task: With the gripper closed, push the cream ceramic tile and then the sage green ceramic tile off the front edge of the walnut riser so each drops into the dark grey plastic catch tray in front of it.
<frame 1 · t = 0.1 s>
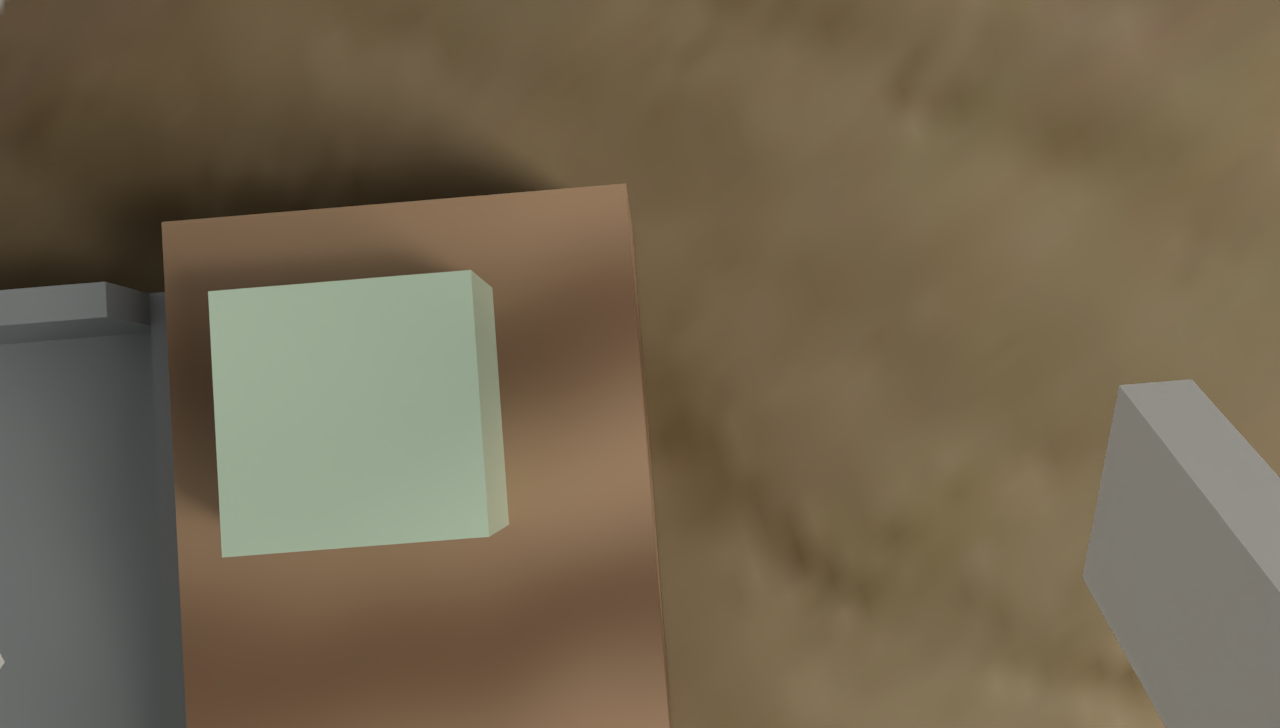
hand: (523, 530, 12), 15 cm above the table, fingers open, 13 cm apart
sage tile: (382, 414, 22), point 5 cm above the table, touching walnut riser
catch tray: (42, 663, 27), on the table
walnut riser: (467, 631, 27), on the table
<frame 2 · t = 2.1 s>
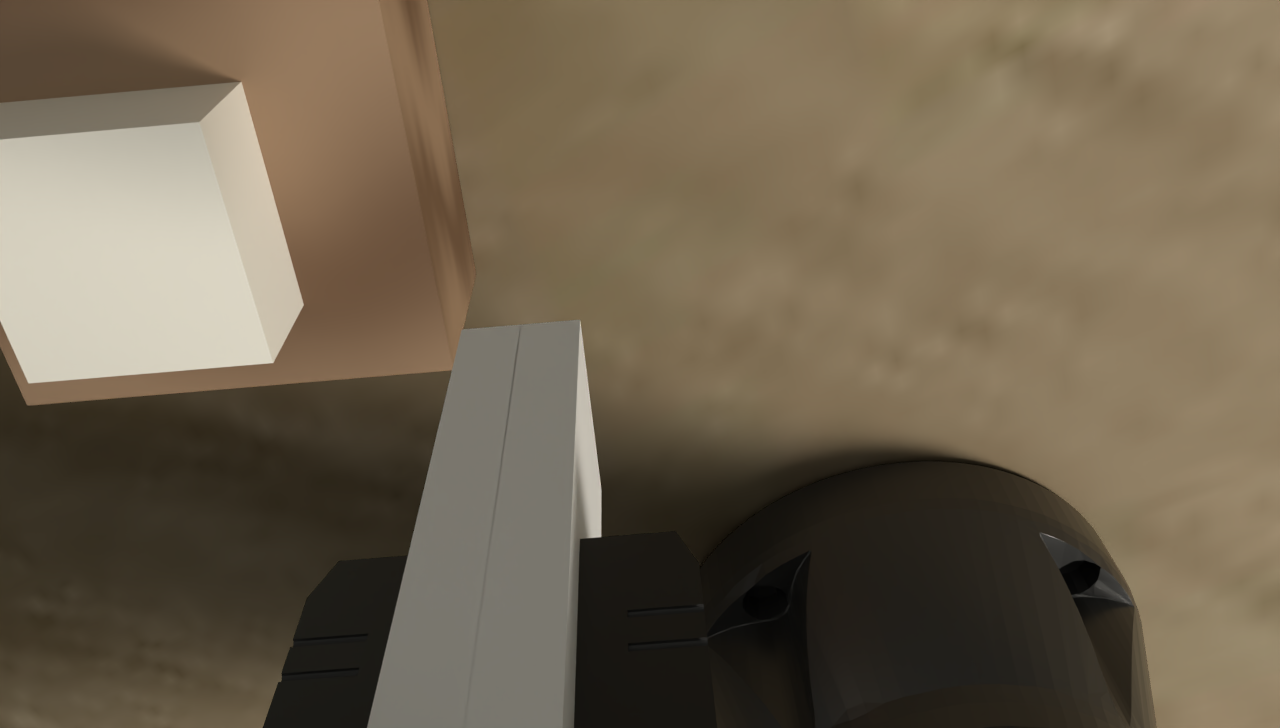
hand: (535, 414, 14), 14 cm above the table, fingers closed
cream tile: (156, 210, 22), point 5 cm above the table, touching walnut riser
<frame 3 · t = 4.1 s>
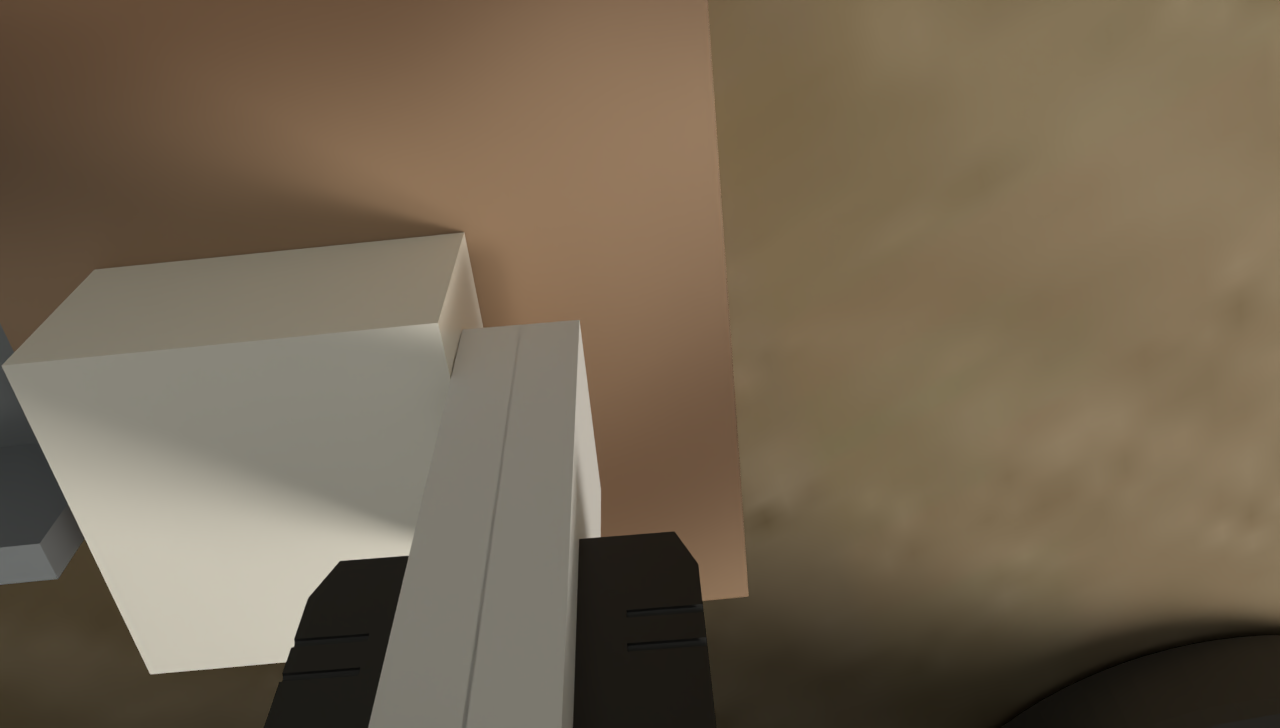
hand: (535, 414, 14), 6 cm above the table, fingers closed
cream tile: (325, 407, 15), point 5 cm above the table, touching gripper
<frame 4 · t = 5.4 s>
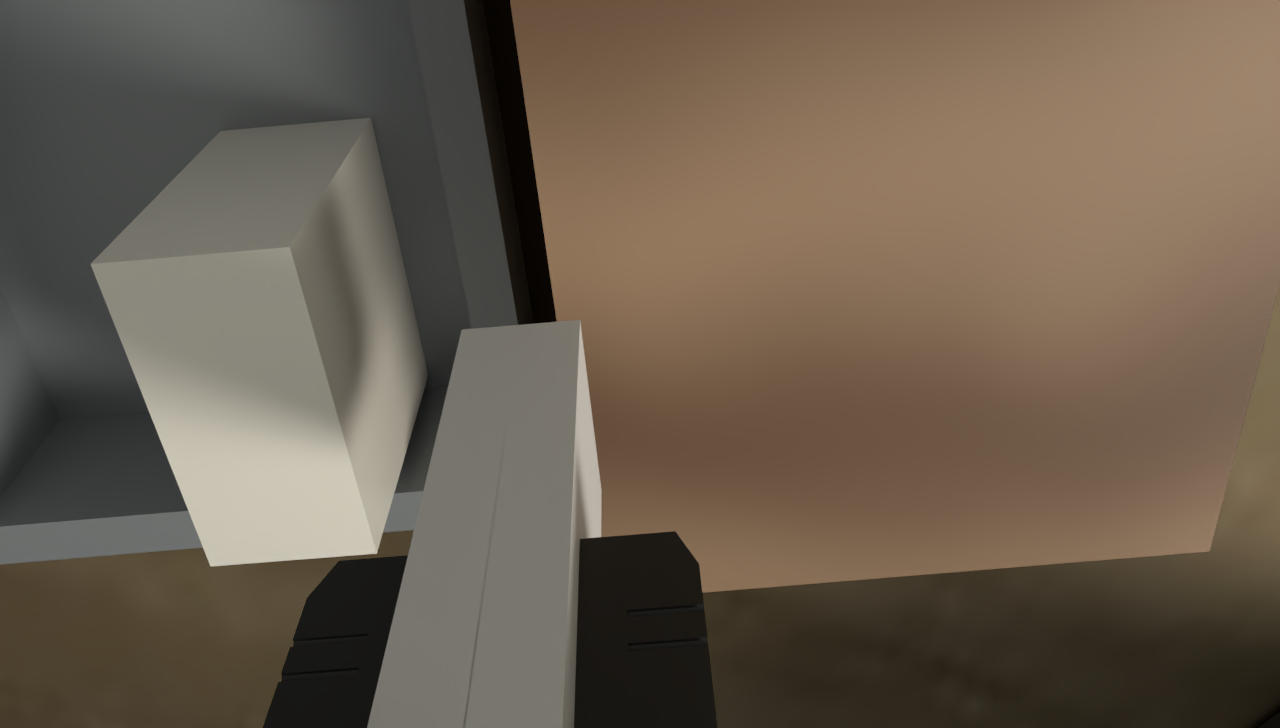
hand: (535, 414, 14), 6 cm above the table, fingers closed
cream tile: (373, 324, 16), point 3 cm above the table, tilted 90°, touching catch tray
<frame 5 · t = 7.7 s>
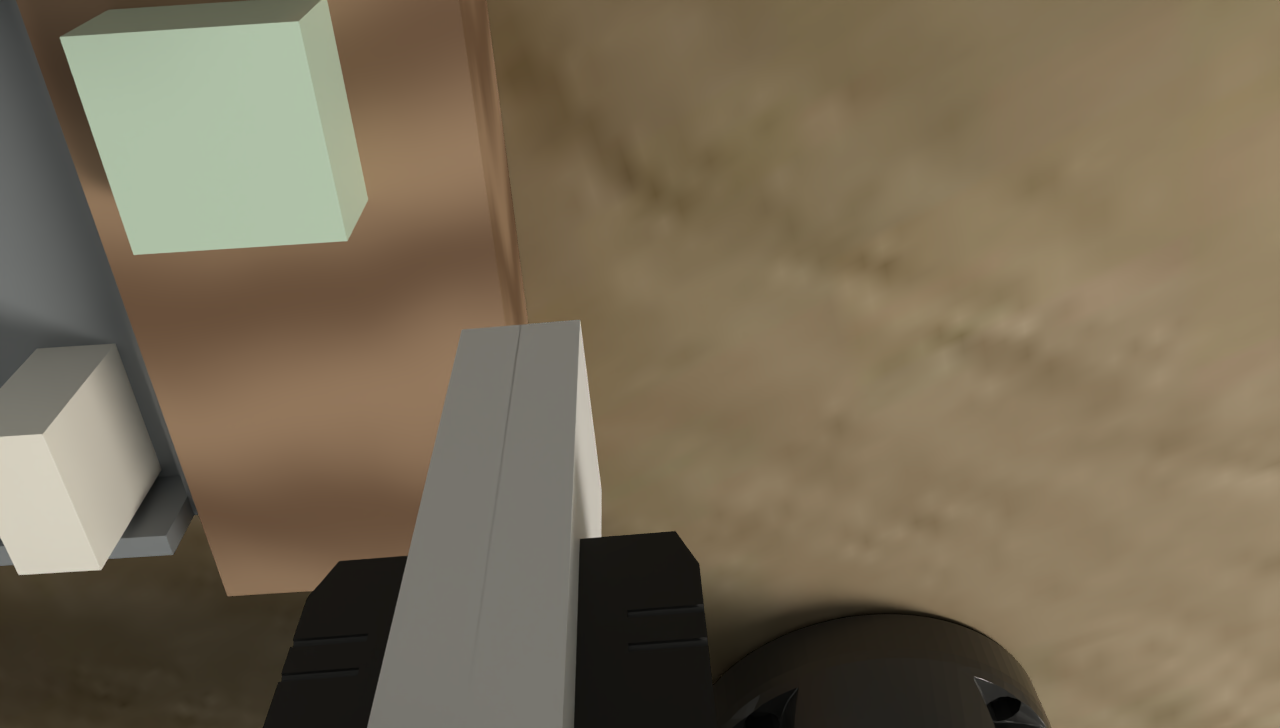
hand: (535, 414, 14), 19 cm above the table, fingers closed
sage tile: (244, 109, 25), point 5 cm above the table, touching walnut riser
walnut riser: (353, 232, 32), on the table
cream tile: (108, 453, 32), point 3 cm above the table, tilted 90°, touching catch tray
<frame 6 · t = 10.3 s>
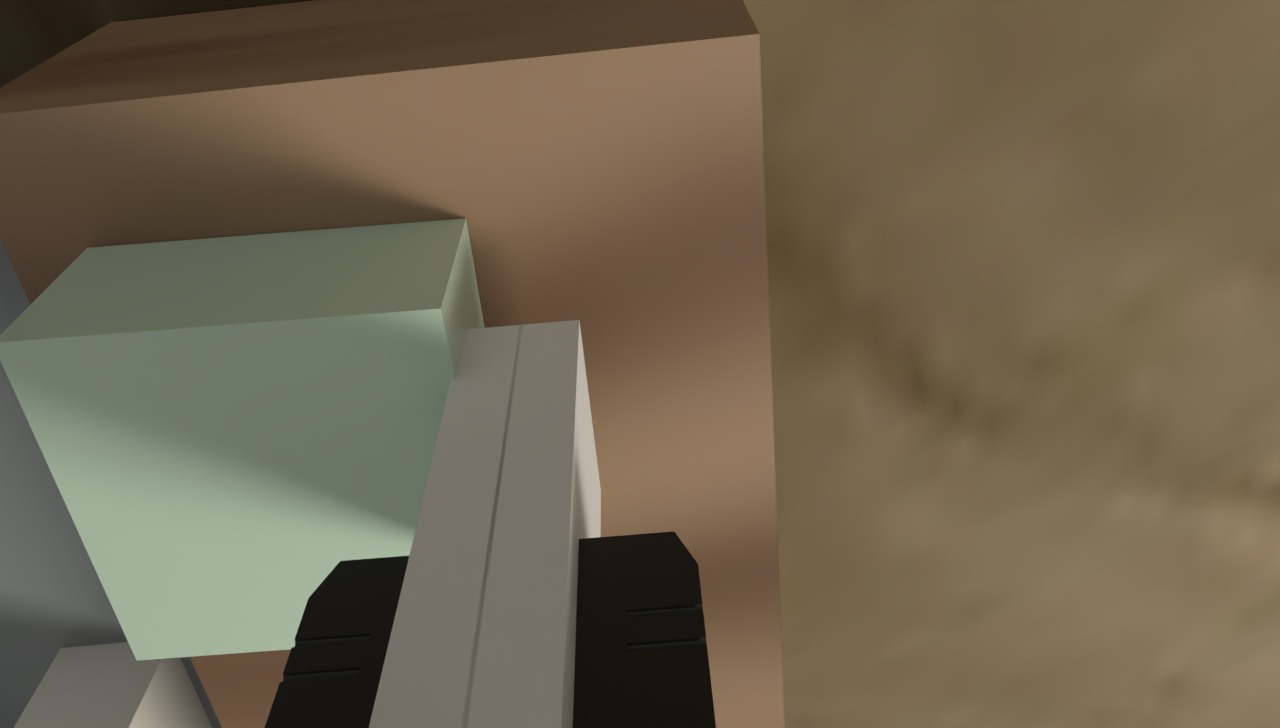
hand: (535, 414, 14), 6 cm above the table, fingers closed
sage tile: (320, 392, 15), point 5 cm above the table, touching gripper
catch tray: (3, 526, 22), on the table
walnut riser: (511, 478, 22), on the table
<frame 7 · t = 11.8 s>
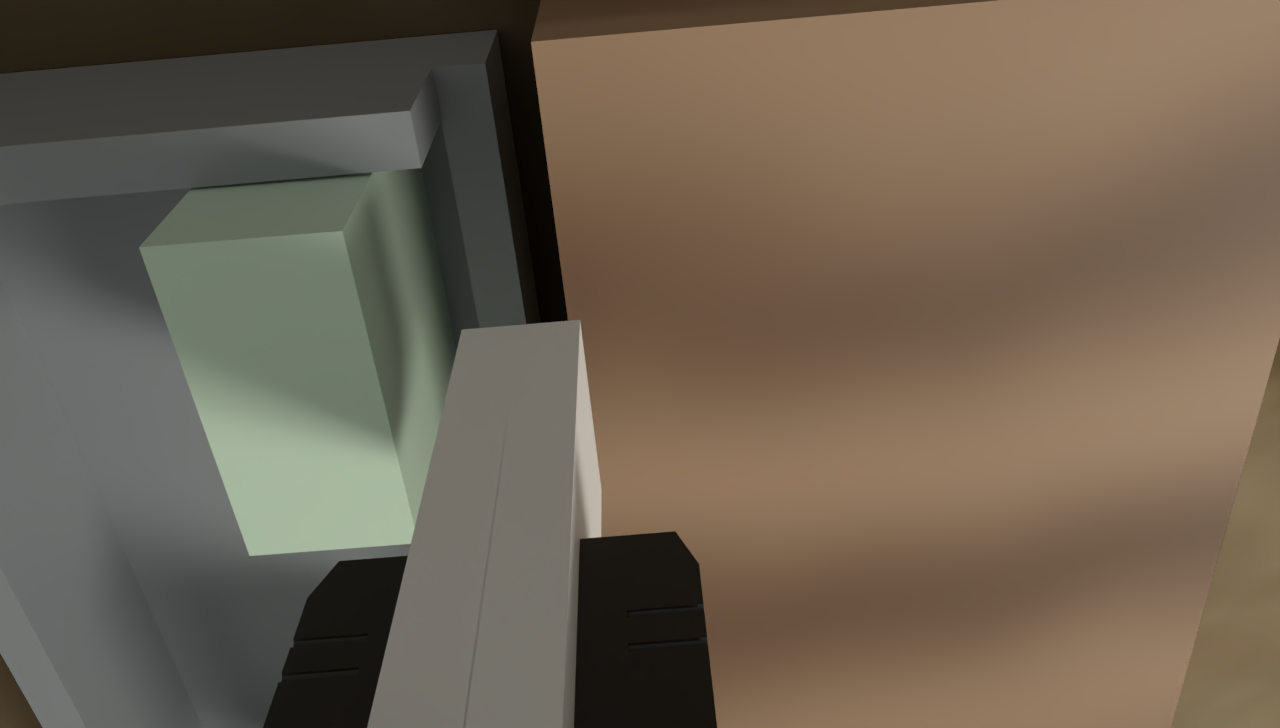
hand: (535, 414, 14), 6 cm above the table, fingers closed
sage tile: (413, 312, 16), point 3 cm above the table, tilted 90°, touching catch tray
catch tray: (325, 485, 22), on the table
walnut riser: (848, 442, 22), on the table
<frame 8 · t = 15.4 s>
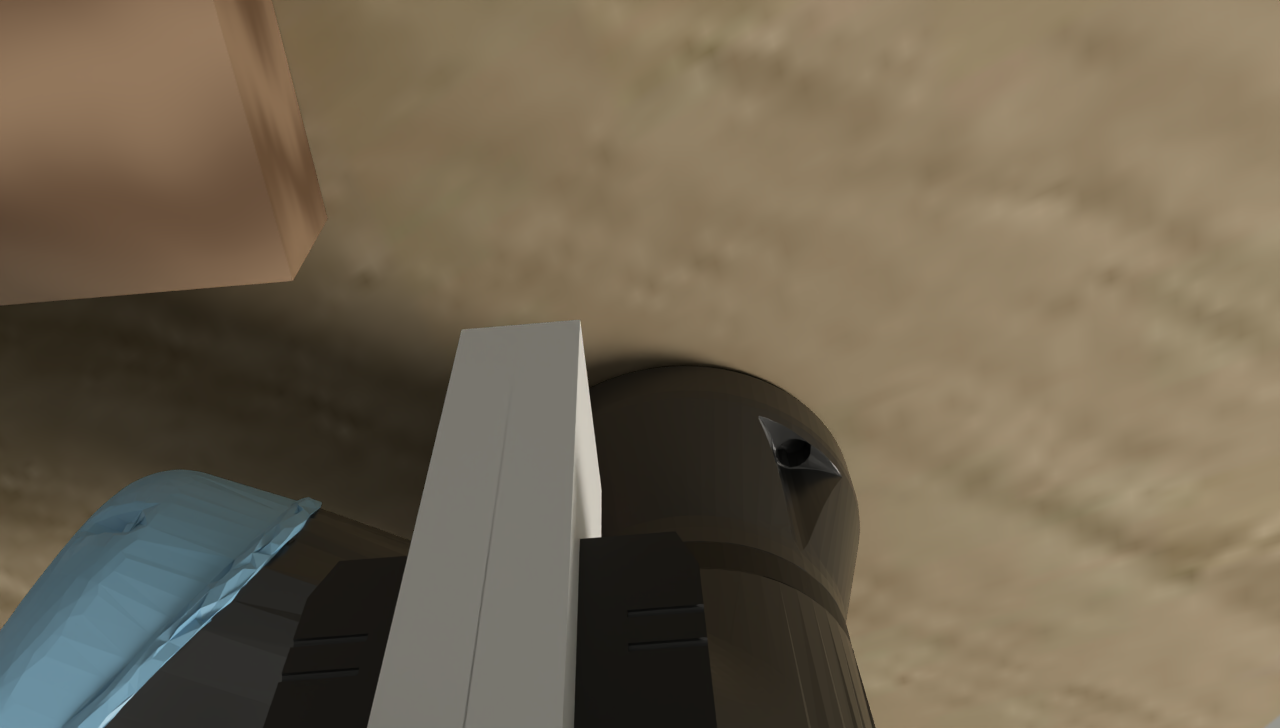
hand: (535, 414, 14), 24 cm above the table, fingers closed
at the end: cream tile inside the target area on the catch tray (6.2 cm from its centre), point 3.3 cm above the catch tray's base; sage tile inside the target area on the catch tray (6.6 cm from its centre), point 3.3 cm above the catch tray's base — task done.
